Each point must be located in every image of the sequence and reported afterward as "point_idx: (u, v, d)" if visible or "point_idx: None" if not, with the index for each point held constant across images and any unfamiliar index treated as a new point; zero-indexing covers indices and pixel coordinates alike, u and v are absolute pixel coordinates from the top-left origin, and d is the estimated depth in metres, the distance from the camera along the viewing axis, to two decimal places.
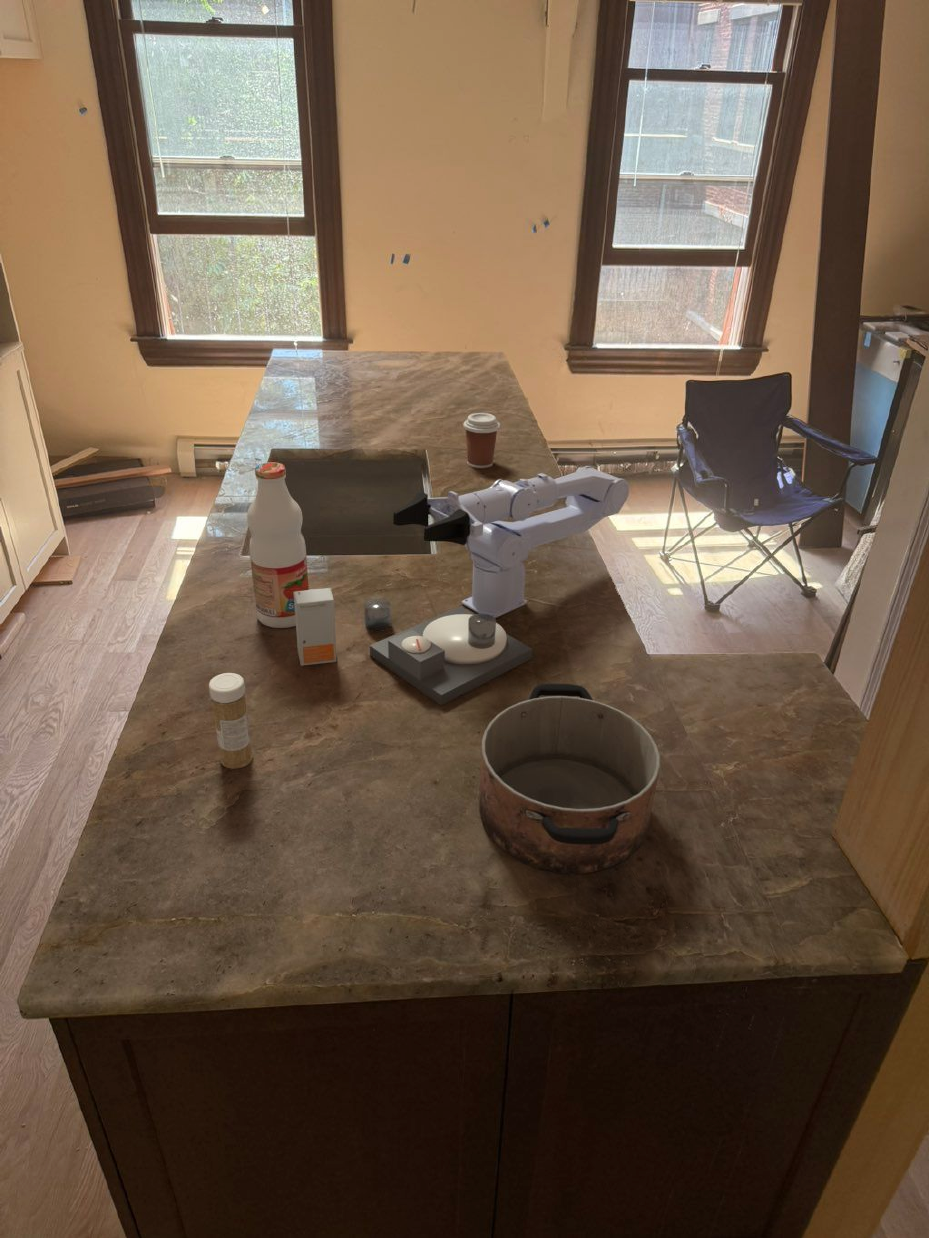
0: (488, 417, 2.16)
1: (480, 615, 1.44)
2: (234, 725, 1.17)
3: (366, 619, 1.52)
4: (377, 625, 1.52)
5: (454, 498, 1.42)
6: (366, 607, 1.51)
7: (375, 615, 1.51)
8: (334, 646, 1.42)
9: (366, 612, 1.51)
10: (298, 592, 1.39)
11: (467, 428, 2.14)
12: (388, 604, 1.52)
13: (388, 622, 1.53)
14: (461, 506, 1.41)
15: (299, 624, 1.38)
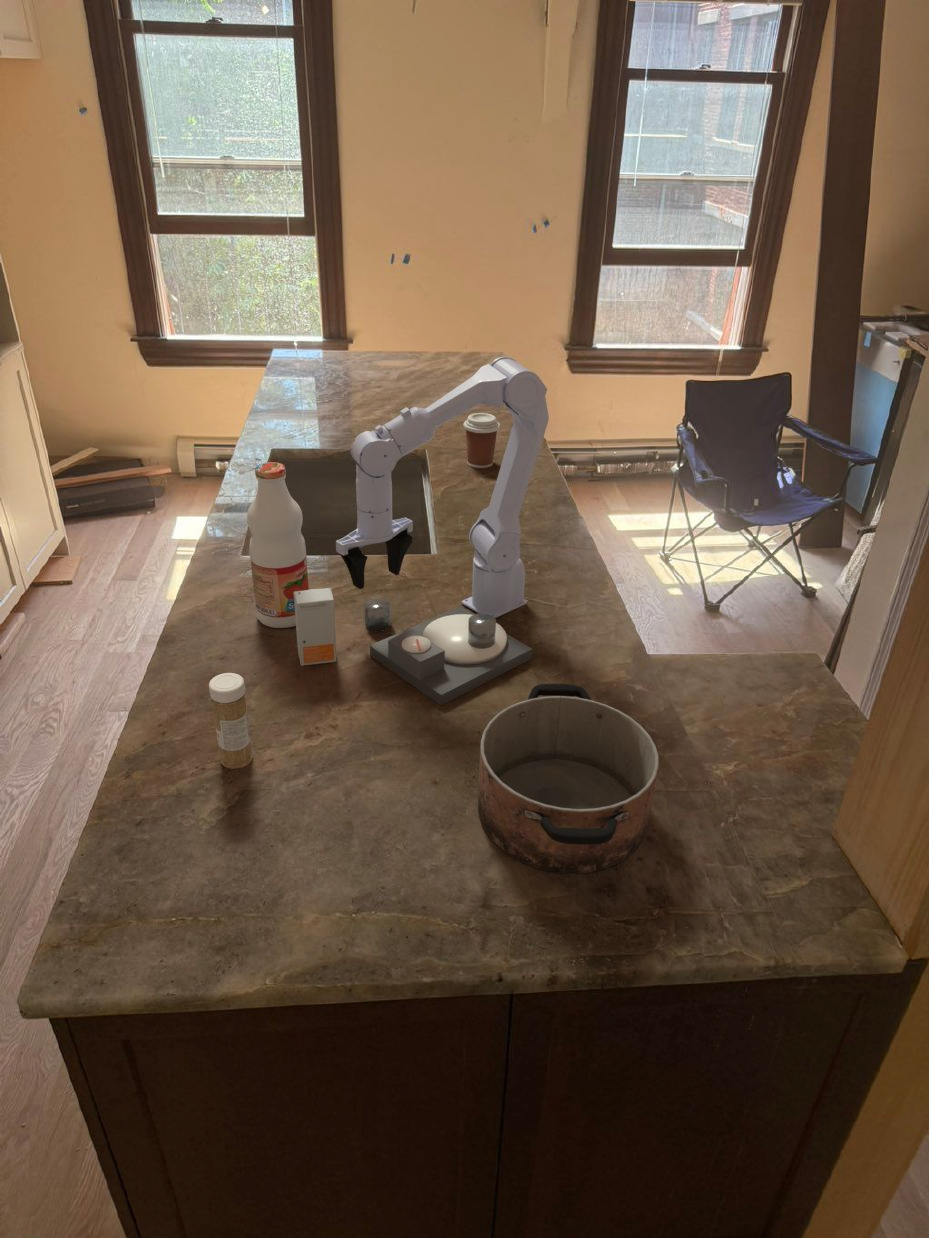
0: (488, 417, 2.16)
1: (480, 615, 1.44)
2: (234, 725, 1.17)
3: (366, 619, 1.52)
4: (377, 625, 1.52)
5: None
6: (366, 607, 1.51)
7: (375, 615, 1.51)
8: (334, 646, 1.42)
9: (366, 612, 1.51)
10: (298, 592, 1.39)
11: (467, 428, 2.14)
12: (388, 604, 1.52)
13: (388, 622, 1.53)
14: None
15: (299, 624, 1.38)
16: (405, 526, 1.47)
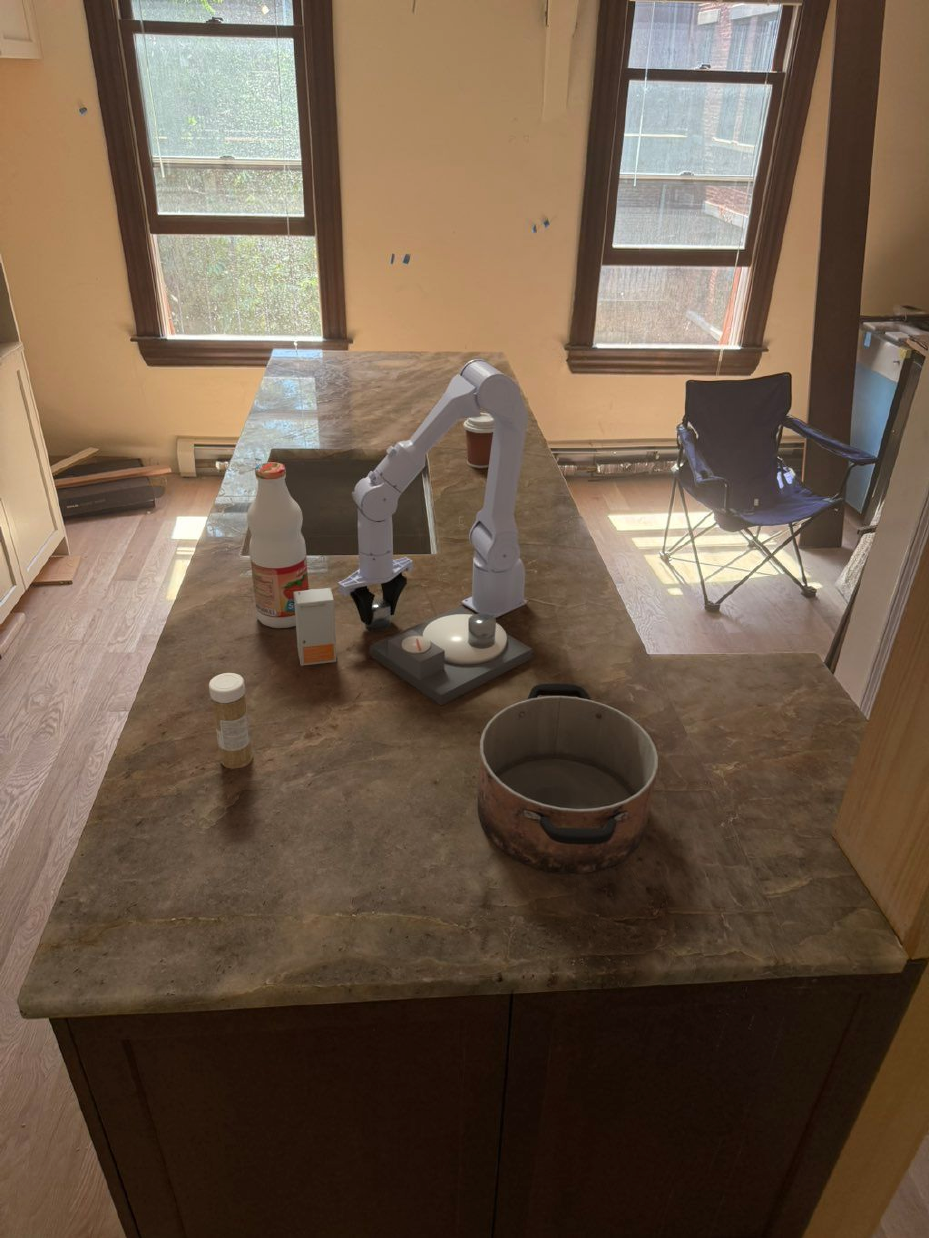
0: (488, 417, 2.16)
1: (480, 615, 1.44)
2: (234, 725, 1.17)
3: None
4: (377, 624, 1.51)
5: None
6: None
7: (375, 615, 1.50)
8: (334, 646, 1.42)
9: None
10: (298, 592, 1.39)
11: (467, 428, 2.14)
12: (388, 604, 1.52)
13: (388, 622, 1.53)
14: None
15: (299, 624, 1.38)
16: (405, 566, 1.51)
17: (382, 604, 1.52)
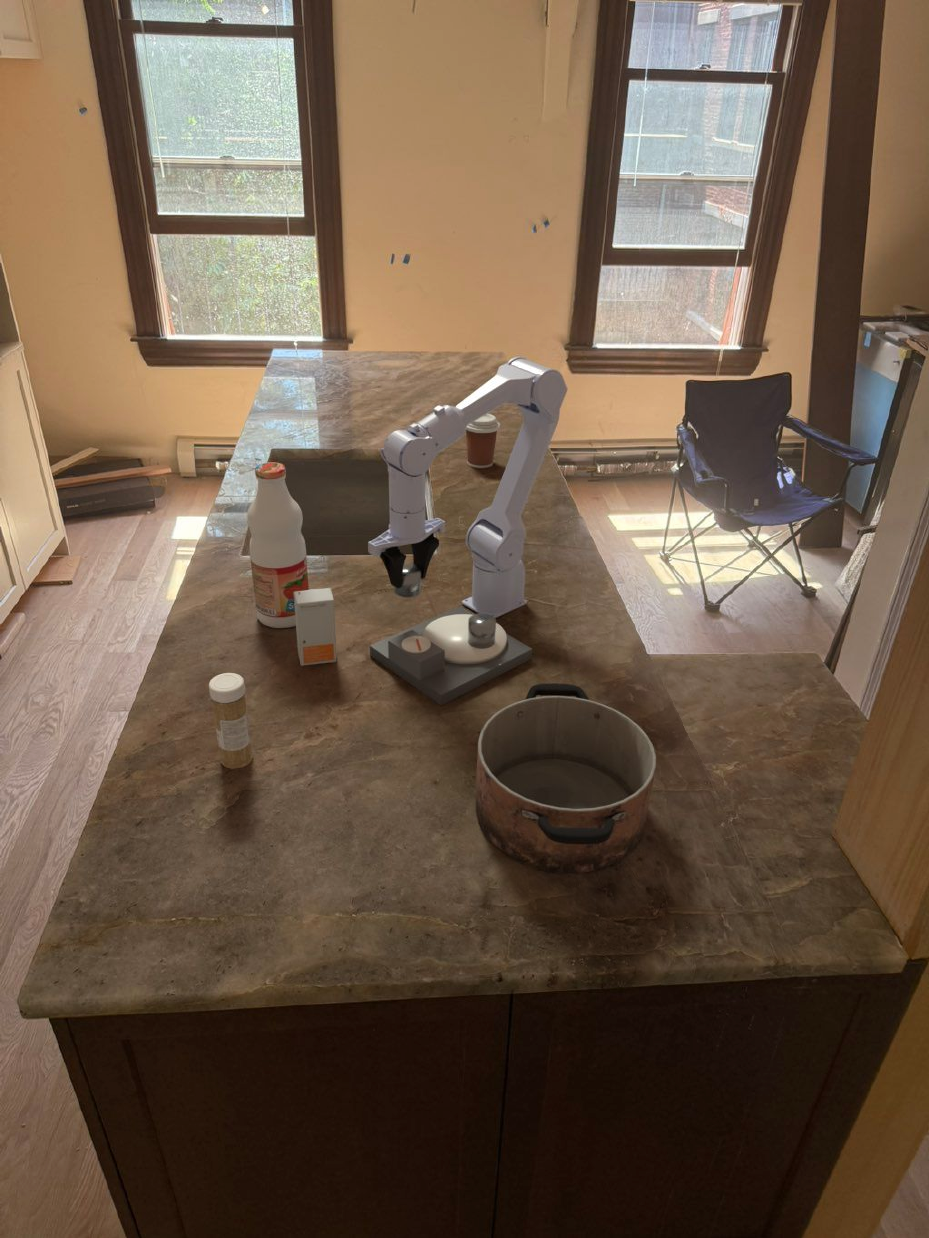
0: (488, 417, 2.16)
1: (480, 615, 1.44)
2: (234, 725, 1.17)
3: None
4: (408, 590, 1.45)
5: None
6: None
7: (405, 580, 1.44)
8: (334, 646, 1.42)
9: None
10: (298, 592, 1.39)
11: (467, 428, 2.14)
12: (419, 568, 1.46)
13: (419, 587, 1.46)
14: None
15: (299, 624, 1.38)
16: (438, 526, 1.44)
17: (412, 569, 1.46)
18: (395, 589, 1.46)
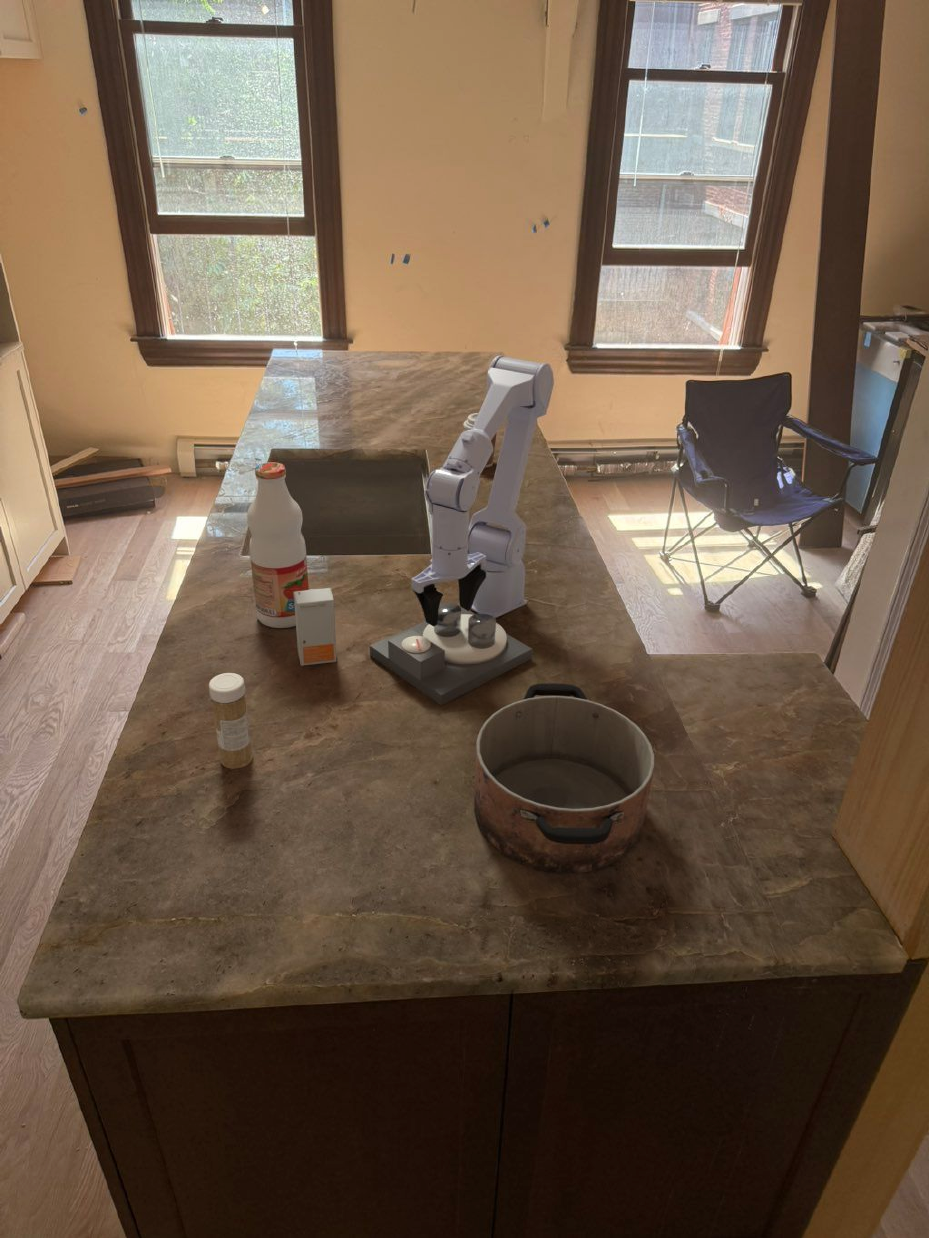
0: None
1: (480, 615, 1.44)
2: (234, 725, 1.17)
3: None
4: (449, 630, 1.45)
5: None
6: None
7: (447, 620, 1.44)
8: (334, 646, 1.42)
9: None
10: (298, 592, 1.39)
11: (467, 428, 2.14)
12: (458, 608, 1.46)
13: (459, 627, 1.46)
14: None
15: (299, 624, 1.38)
16: (479, 561, 1.44)
17: (452, 608, 1.46)
18: (435, 629, 1.46)
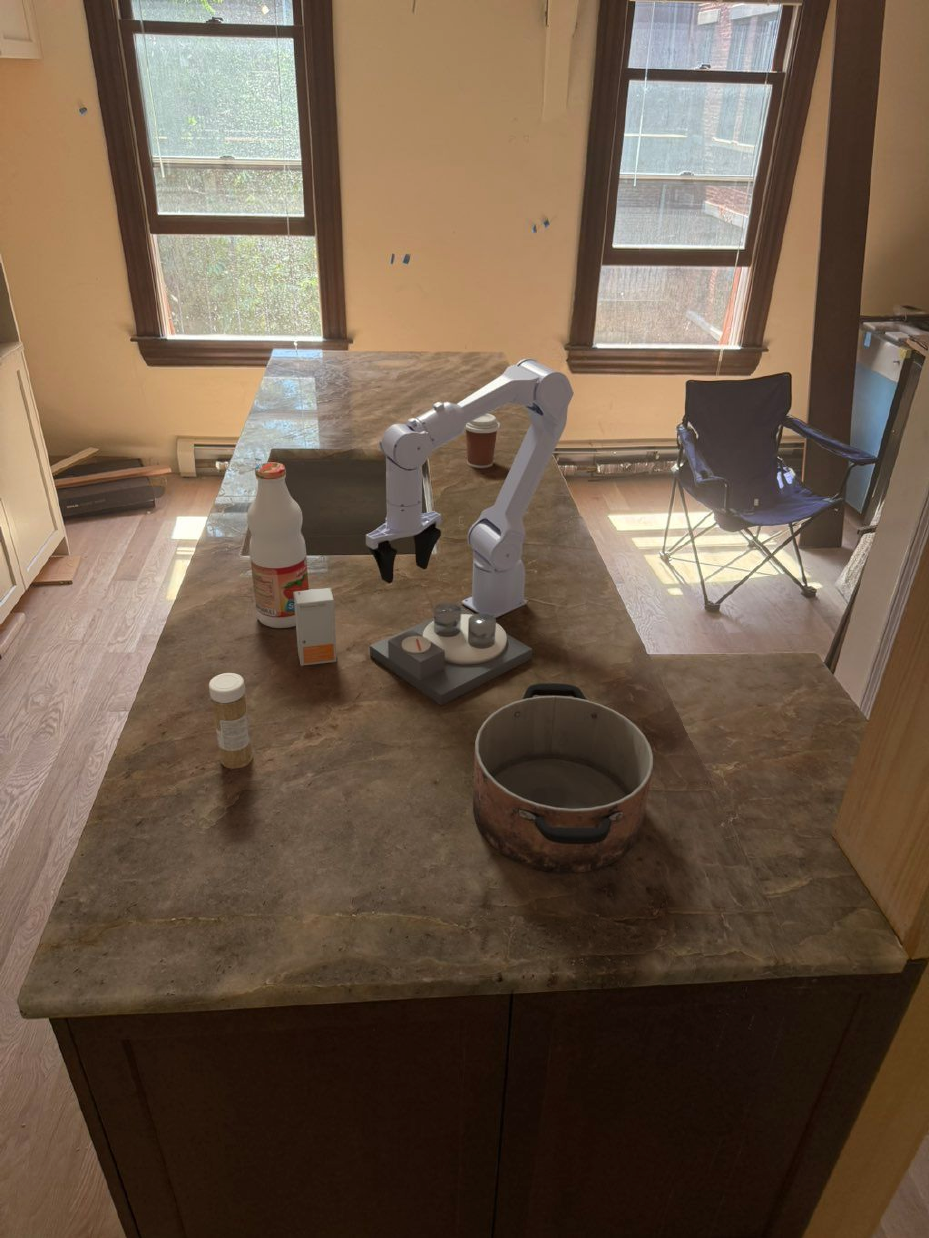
0: (488, 417, 2.16)
1: (480, 615, 1.44)
2: (234, 725, 1.17)
3: (436, 624, 1.45)
4: (449, 630, 1.45)
5: None
6: (436, 612, 1.45)
7: (447, 620, 1.44)
8: (334, 646, 1.42)
9: (437, 617, 1.45)
10: (298, 592, 1.39)
11: (467, 428, 2.14)
12: (458, 608, 1.46)
13: (459, 627, 1.46)
14: None
15: (299, 624, 1.38)
16: (434, 520, 1.46)
17: (452, 608, 1.46)
18: (435, 629, 1.46)
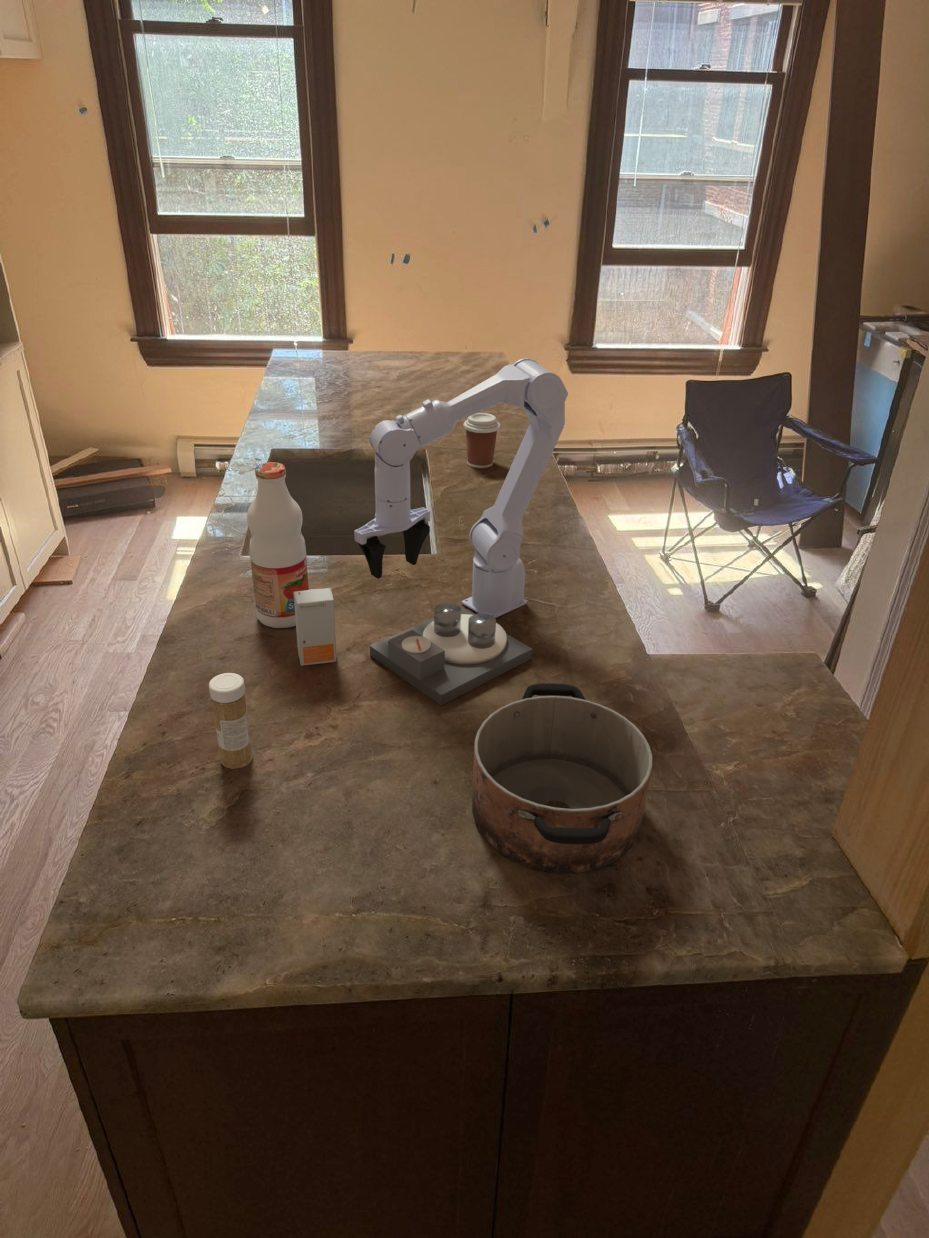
0: (488, 417, 2.16)
1: (480, 615, 1.44)
2: (234, 725, 1.17)
3: (436, 624, 1.45)
4: (449, 630, 1.45)
5: None
6: (436, 612, 1.45)
7: (447, 620, 1.44)
8: (334, 646, 1.42)
9: (437, 617, 1.45)
10: (298, 592, 1.39)
11: (467, 428, 2.14)
12: (458, 608, 1.46)
13: (459, 627, 1.46)
14: None
15: (299, 624, 1.38)
16: (423, 516, 1.48)
17: (452, 608, 1.46)
18: (435, 629, 1.46)
